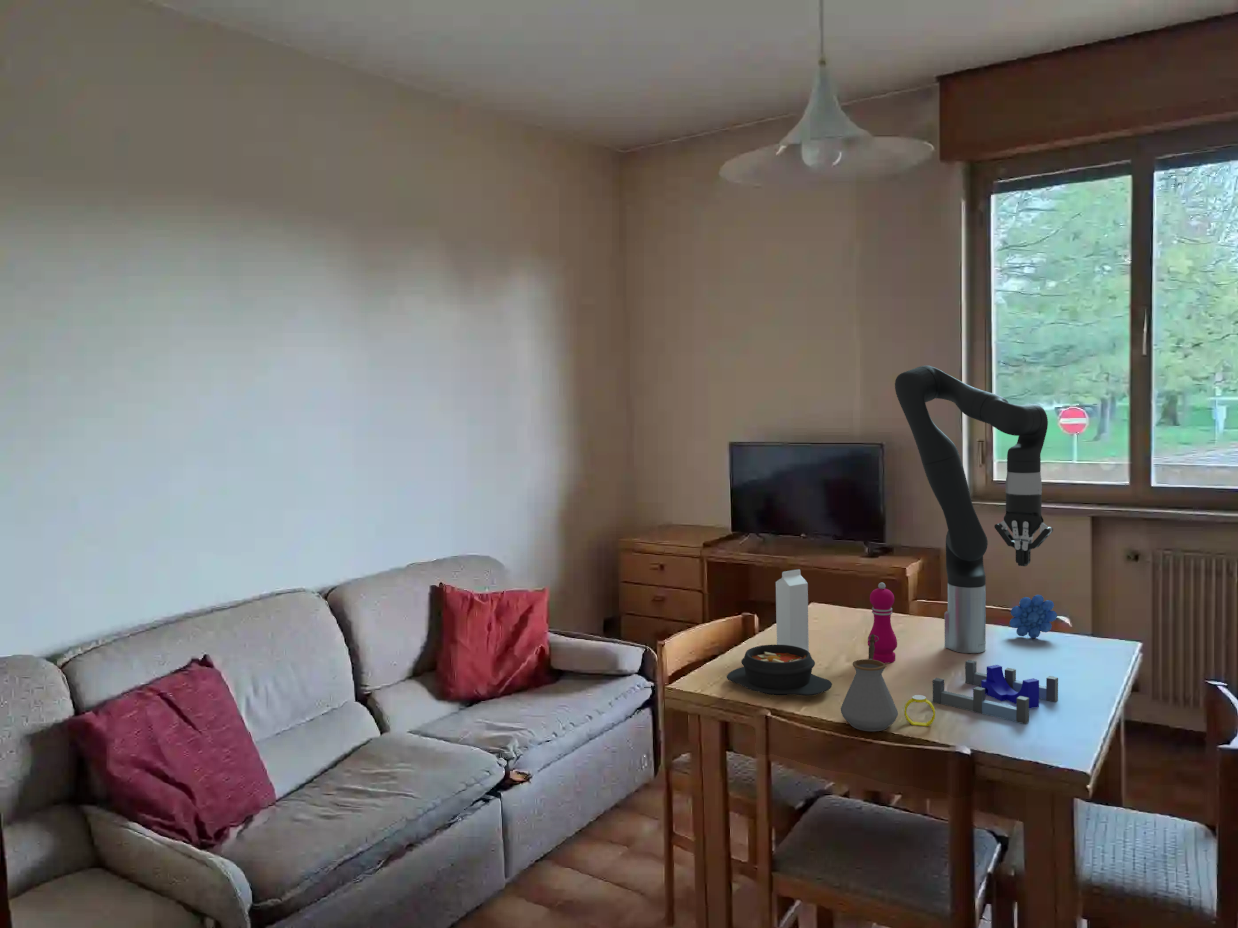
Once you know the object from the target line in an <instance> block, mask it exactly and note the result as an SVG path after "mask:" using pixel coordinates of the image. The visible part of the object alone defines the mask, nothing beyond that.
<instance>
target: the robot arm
mask: <svg viewBox="0 0 1238 928" xmlns="http://www.w3.org/2000/svg"><path fill="white" fill-rule="evenodd" d="M894 389H895V394H896V397H897V400H898V402H899V405H900V407H901V409H902V412H903V414H904V416H905V419H906V421H907V423H908V425H909V426H908V427H909V428H910V430H911V433H912V436H913V438H914V441H915V444H916V448H917V450H918V454H919V457H920V460H921V463H922V467H923V470H924V473H925V477H926V479H927V481H928V484H929V485H930V486H929V487H930V488H931V490H932V492H933V494H934V497H935V498H936V500H937V502H938V504H939V505H940V508H941V510H942V513H943V515H944V519H945V522H946V526H947V532H946V536H945V568H946V569H945V570H946V576H947V610H946V611H944V648H946V649H949V650H951V651H954V652H956V653H963V654H977V653H978V654H979V653H980V654H981V653H982V652H985V651H986V643H987V642H986V637H987V636H986V630H987V629H986V627H987V626H986V625H987V623H986V618H987V617H986V603H987V601H986V596H987V595H986V590H987V589H986V585H987V582H986V581H987V580H986V576H987V575H986V573H985V567H984V555H985V553H986V552H987V549H988V545H989V541H988V537H987V535H986V533H985V531H984V529H983V526H982V524H981V522H980V520H979V518H978V515H977V513H976V510H975V508H974V505H973V502H972V498H971V492H970V489H969V485H968V480H967V476H966V473H965V470H964V465H963V462H962V459H961V456H960V453H959V450H958V448H957V445H955V443H954V442H953V441H952V440H951V439H950V437H949V436H947V435H946V434H945V433H944V432H943V431H942V430H941V429H940V428H938V426H937V425H936V424H935V423H934V421H933V420H932V418H931V415H930V413H929V411H928V407H927V405H926V403H927V402H931V401H933V400H935V399H939V400H947V401H950V402H951V403H953V404H955V405H956V407H957V408H958V409H959V411H960V412H961V413H963V414H964V415H965V416H967V417H969V418H972V419H973V420H976V421H980V422H982V423H985V424H989V425H990V426H991V427H993V428H995V429H996V430H999V432H1001V433H1004V434H1006V435H1010V436H1014V437H1018V438H1017V442H1016V444H1015V445H1013V446H1011V447H1009V448H1008V450H1007V455H1006V478H1005V514H1004V517H1003V520H1002V521H1000V522H999V523H996V524H994V527H993V528H994V529H995V530H996V532H997V533H998V534H999V535H1000V537H1001V538H1002V540H1003V541H1004V542H1005V544H1006V545H1007V547H1012V548H1013V549H1014V550H1015V562H1016V564H1017V565H1018V567H1027V566H1028V565H1029V564H1030V563H1031V557H1032V556H1031V555H1032V554H1031V552H1032V551H1031V550H1035V549H1036V548H1039V547H1040V546H1041V545H1042V544H1043V543H1044V542H1045V541H1046V539H1048V537H1049V536H1050V535H1051V534H1052V533H1053V532H1054V528H1053V526H1049V525H1047V524H1046V523H1045V522H1044V518H1043V516H1042V499H1043V498H1042V494H1043V492H1042V491H1043V483H1042V482H1043V481H1042V476H1041V467H1042V466H1041V460H1042V459H1041V453H1042V450H1043V447H1044V444H1045V439H1046V436H1047V432H1048V425H1049V421H1048V414H1047V412H1046V411H1045V409H1044V408H1043V407H1042V406H1041V405H1039V404H1034V403H1027V404H1014V403H1009V401H1008V400H1007V399H1006V398H1005V397H1003V396H1001V395H998V394H996V393H993V392H989V391H986V390H982V389H979V388H976V387H973V386H971V385H969V384H967V383H965V382H963V381H961V380H959V379H958V378H955V377H954V376H952V375H950V374H948V373H945V371H942V370H941V369H939V368H937V367H934V366H931V365H921V366H917V367H915V368H912V369H909V370H906V371H904V372H901V373H900V374H898V375H897V376H896V378H895V381H894ZM1009 530H1010V531H1009ZM1038 530H1039V535H1038V536H1037V537H1036V538H1035V539H1034V534H1035V533H1037V531H1038ZM1011 532H1012V533H1011ZM1033 539H1034V540H1033Z"/></svg>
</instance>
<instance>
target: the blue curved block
mask: <svg viewBox="0 0 1238 928" xmlns="http://www.w3.org/2000/svg"><path fill="white" fill-rule="evenodd" d="M986 674H987V680H981V686H980V687H981V688H985V696H989V697H991V698H993V699H995V700H998V701H1000V702H1004V701H1007V702H1011V703H1013V704H1015V705H1016V703H1017V698H1018V697H1019V696H1023V697H1027V698H1029V710H1030V709H1035V708H1039V707H1040V699H1039V685H1040V680H1039V679H1037V678H1027V679H1023V680H1022V682H1023V683H1022V687H1021V690H1020V691H1019V692H1016V691H1014V690H1013V689H1012V688H1011V687H1010V686H1009V685H1008V684H1007V682H1006V680H1005V674H1004V672H1003V666H1002V665H999V664H993V665H988V666H986Z"/></svg>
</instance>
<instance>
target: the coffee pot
mask: <svg viewBox="0 0 1238 928" xmlns="http://www.w3.org/2000/svg"><path fill="white" fill-rule="evenodd" d="M870 636H871V639H870V640H869V637H870ZM870 636H869V635H868V637H867V641H868V640H869V642H870V645H869V646H868V658H867V659H866V658H865V659H863V658H862V659H858V660H857V659H856V660H854V661H853V662H852V667H854V670H855V674H854V676H853V679H852V681H851V684H850V685H849V688H848V689H847V692H846V694H845V696H844V698H843V702H842V703H841V706H840V713H841V716H842V718H844V719H845V720H846V721H847V723H849V724H850V726H852V728H854V729H857V730H860V731H865V732H879V731H884V730H886V729H888V728H889V726H891V725H892V724H893V723H895V722H896V720H897V717H898V715H899V711H898V709H897V706H896V703H895V701H894V699H893V697H892V695H891V692H890V690H889V688H888V685H887V683H886V682H885V679H884V677H883V672H884V671H885V669H886V668H887V664H886V663H883V662H880V661H877V660H873V656H874V650H875V647H874V643H875V642H876V641H875V640H874V639H875V635H874V634H872V635H870ZM876 637H877V636H876ZM878 639H879V638H878ZM877 641H878V640H877Z"/></svg>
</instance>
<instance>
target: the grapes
mask: <svg viewBox="0 0 1238 928" xmlns="http://www.w3.org/2000/svg"><path fill="white" fill-rule="evenodd" d="M1054 607H1055V603H1054V601H1052V600H1050V599H1046V600H1045V599H1044V596H1042V594H1035V595H1034V596H1032V598H1030V597H1027V596H1024V597H1022V598H1020V600H1019V603H1018V605H1015V606H1013V607H1012V608H1011V609H1010V614H1011V616H1012V618H1011V619H1010V620H1009V626H1010V627H1011V628H1012V629H1016V634H1017V636H1019V637H1025V636H1027V635H1028V636H1029V638H1031V639H1036V638H1038V637H1039V636H1040V635H1041V632H1042V633H1048V632H1050V631H1051V629H1052V627H1053V626H1052V622H1054V621H1056V619H1057V617H1058V614H1057V612H1056V611H1054V610H1053V609H1054Z"/></svg>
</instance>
